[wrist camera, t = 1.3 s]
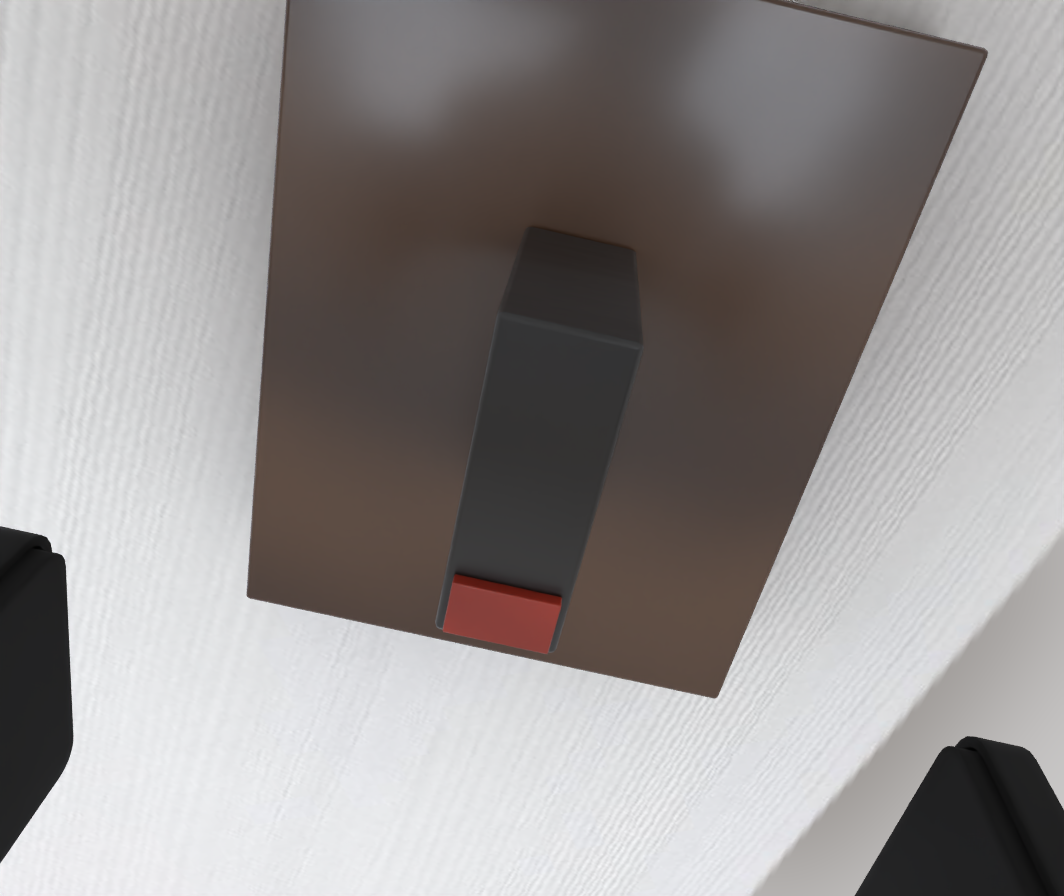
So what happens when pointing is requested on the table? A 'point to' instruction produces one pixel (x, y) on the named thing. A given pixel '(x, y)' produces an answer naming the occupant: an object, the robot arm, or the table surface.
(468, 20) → the plate
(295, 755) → the table surface
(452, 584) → the lock knob
